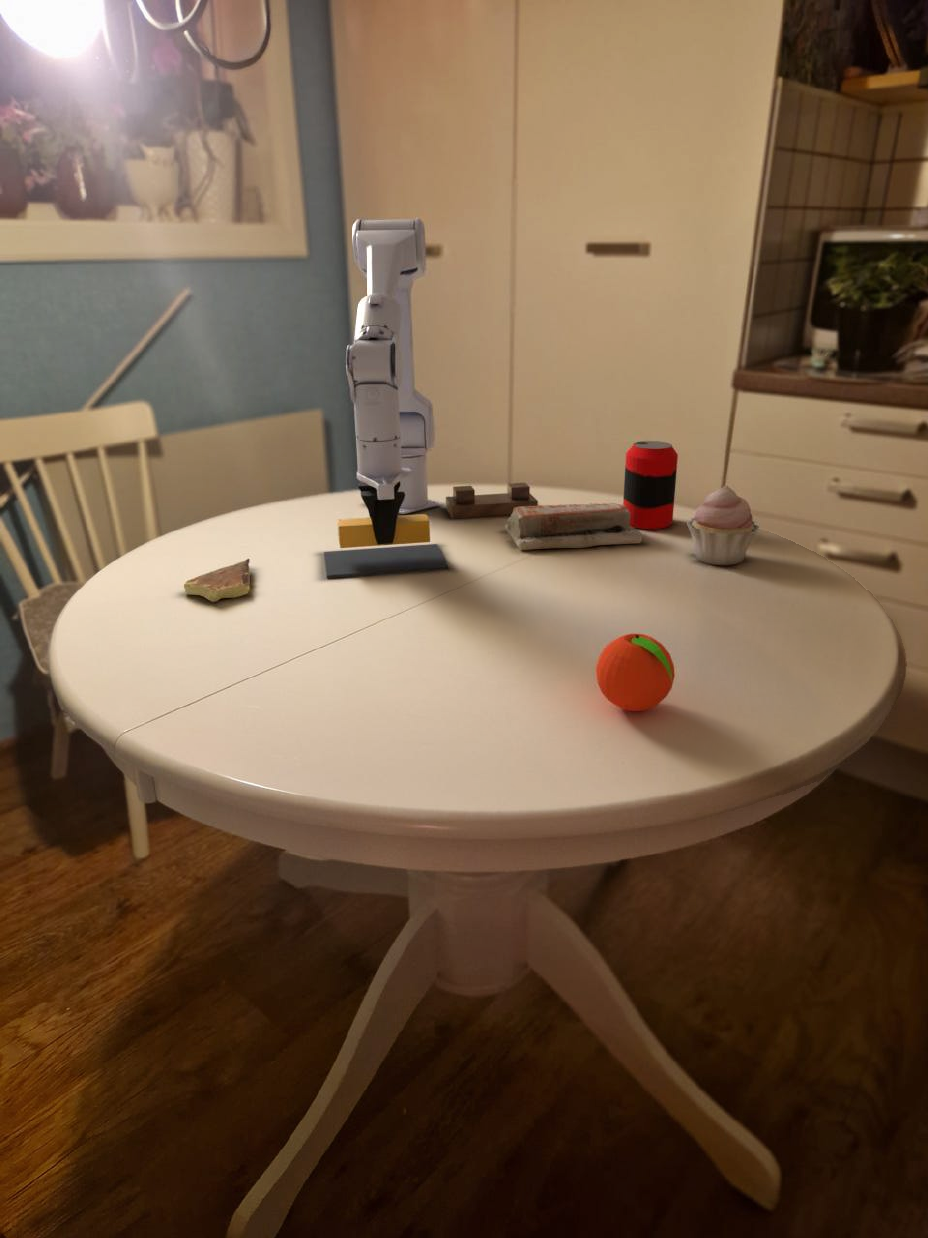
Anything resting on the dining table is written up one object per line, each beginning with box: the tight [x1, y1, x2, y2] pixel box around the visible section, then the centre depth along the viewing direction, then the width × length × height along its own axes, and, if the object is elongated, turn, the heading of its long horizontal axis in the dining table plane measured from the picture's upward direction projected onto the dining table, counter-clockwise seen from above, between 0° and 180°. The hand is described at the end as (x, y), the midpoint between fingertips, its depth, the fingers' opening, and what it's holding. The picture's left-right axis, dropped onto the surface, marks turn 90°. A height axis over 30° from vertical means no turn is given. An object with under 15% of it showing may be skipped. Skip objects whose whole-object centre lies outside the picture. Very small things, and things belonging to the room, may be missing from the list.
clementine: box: [595, 633, 675, 712], centre depth 77 cm, size 8×7×7 cm
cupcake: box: [686, 485, 760, 566], centre depth 115 cm, size 9×9×10 cm
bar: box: [336, 513, 431, 549], centre depth 116 cm, size 12×3×3 cm, turn 101°
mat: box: [323, 543, 450, 579], centre depth 117 cm, size 16×10×1 cm, turn 101°
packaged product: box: [505, 502, 643, 551], centre depth 125 cm, size 18×5×10 cm
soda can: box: [622, 440, 679, 530], centre depth 130 cm, size 8×8×12 cm
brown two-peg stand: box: [445, 482, 539, 519], centre depth 140 cm, size 14×6×4 cm, turn 101°
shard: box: [183, 558, 251, 603], centre depth 109 cm, size 11×8×2 cm
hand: (383, 538), depth 116 cm, fingers closed on bar, 3 cm apart
